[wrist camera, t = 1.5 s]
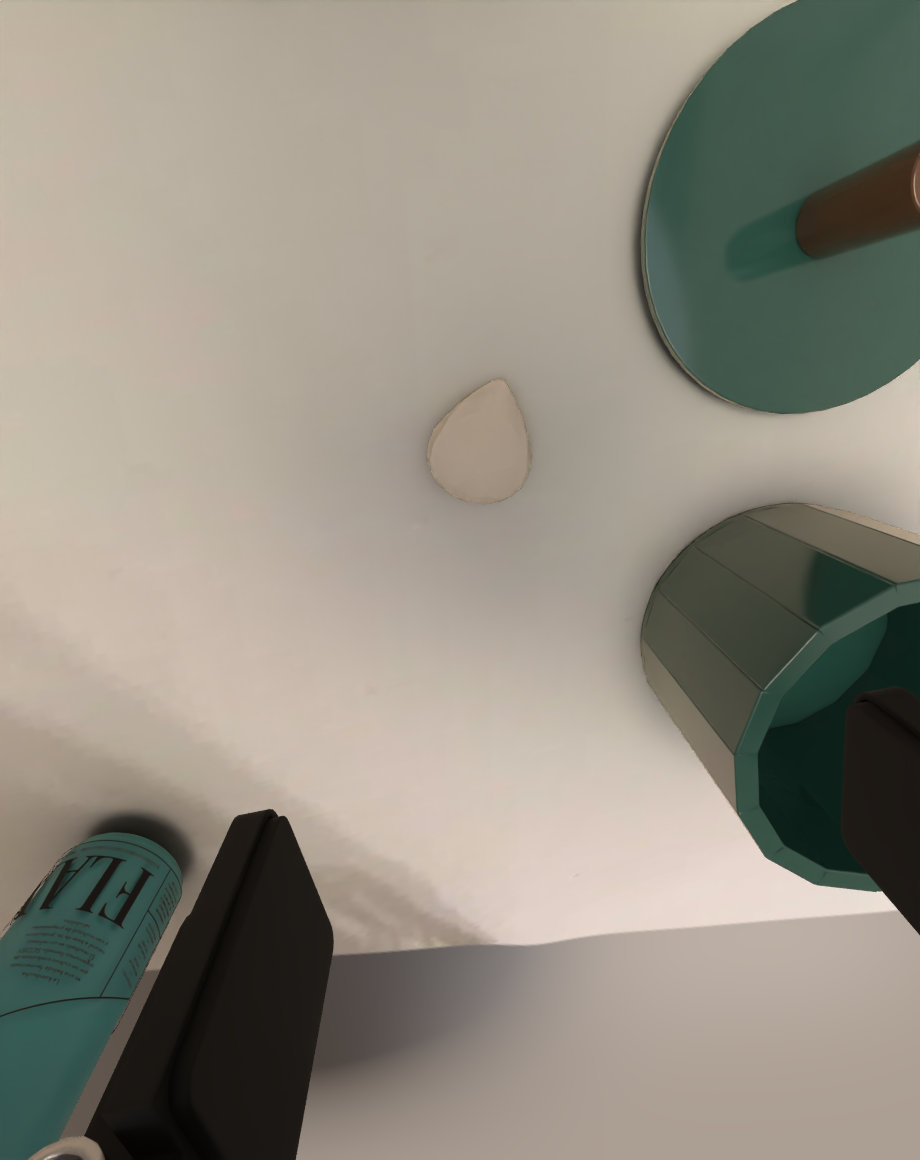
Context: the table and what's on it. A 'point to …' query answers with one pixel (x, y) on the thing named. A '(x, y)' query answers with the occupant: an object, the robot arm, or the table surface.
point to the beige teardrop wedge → (481, 446)
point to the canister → (784, 664)
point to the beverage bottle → (74, 977)
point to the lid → (794, 210)
